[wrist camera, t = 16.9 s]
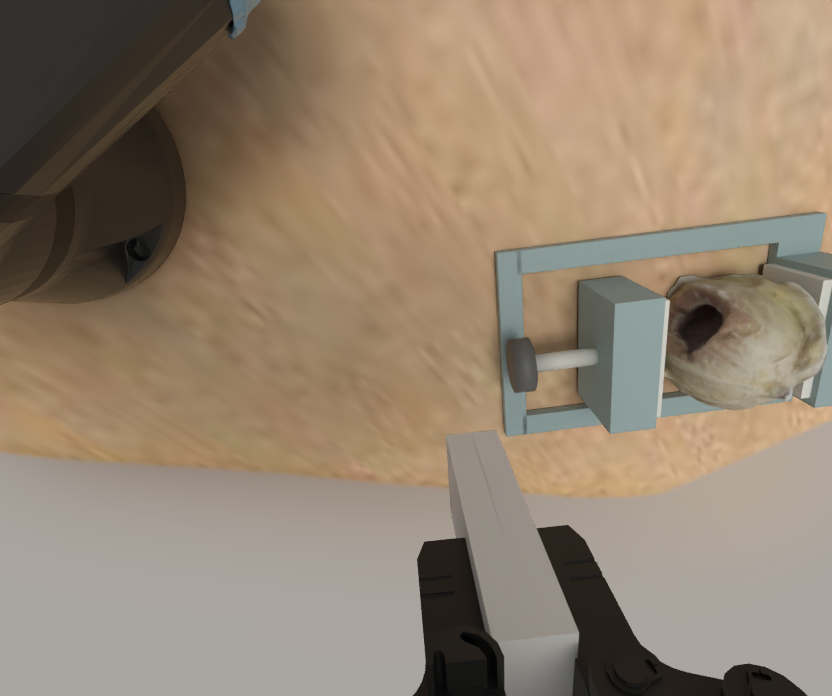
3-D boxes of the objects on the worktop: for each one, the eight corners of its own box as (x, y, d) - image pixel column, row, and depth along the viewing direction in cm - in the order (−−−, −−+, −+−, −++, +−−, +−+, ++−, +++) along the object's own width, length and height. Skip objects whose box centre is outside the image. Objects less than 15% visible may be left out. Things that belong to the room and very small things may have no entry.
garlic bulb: (716, 266, 37) (876, 263, 28) (718, 373, 39) (870, 404, 29) (616, 286, 34) (756, 291, 25) (623, 401, 36) (757, 445, 26)
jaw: (504, 403, 37) (524, 444, 31) (499, 290, 34) (519, 315, 28) (624, 388, 37) (664, 426, 32) (630, 274, 34) (676, 296, 28)
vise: (504, 431, 38) (523, 477, 33) (494, 251, 33) (516, 269, 28) (783, 396, 38) (851, 436, 33) (817, 211, 33) (903, 221, 28)
